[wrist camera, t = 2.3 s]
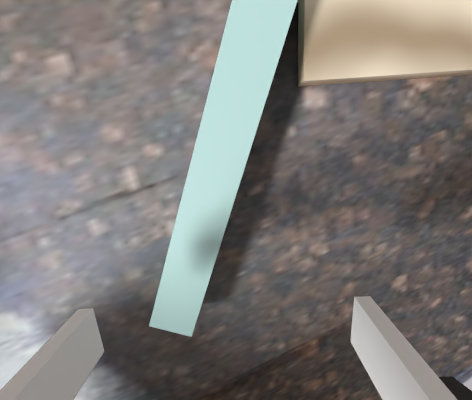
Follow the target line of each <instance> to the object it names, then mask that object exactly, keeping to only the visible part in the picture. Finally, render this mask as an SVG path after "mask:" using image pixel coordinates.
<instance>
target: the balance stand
mask: <svg viewBox="0 0 472 400" xmlns="http://www.w3.org/2000/svg"><path fill="white" fill-rule="evenodd" d="M461 75H472V0H298V86H312V85H326V84H341V83H356V82H371V81H386V80H401V79H416V78H431V77H446V76H461Z"/></svg>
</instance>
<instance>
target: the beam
mask: <svg viewBox="0 0 472 400" xmlns="http://www.w3.org/2000/svg"><path fill="white" fill-rule="evenodd" d="M297 1H298V0H232V3H231V7H230V11H229V15H228V19H227V23H226V27H225V30H224V34H223V38H222V42H221V46H220V50H219V54H218V58H217V62H216V66H215V70H214V73H213V77H212V81H211V85H210V89H209V93H208V97H207V101H206V105H205V109H204V113H203V117H202V120H201V124H200V128H199V132H198V136H197V140H196V144H195V148H194V152H193V156H192V160H191V163H190V167H189V171H188V175H187V179H186V183H185V187H184V191H183V195H182V199H181V203H180V206H179V210H178V214H177V218H176V222H175V226H174V230H173V234H172V238H171V242H170V246H169V250H168V253H167V257H166V261H165V265H164V269H163V273H162V277H161V281H160V285H159V289H158V293H157V296H156V300H155V304H154V308H153V312H152V316H151V320H150V324H149V326H150V327H154V328H158V329H162V330H166V331H170V332H174V333H178V334H182V335H186V336H190V337H192V334H193V331H194V327H195V324H196V321H197V318H198V315H199V311H200V308H201V305H202V302H203V299H204V296H205V292H206V289H207V286H208V283H209V280H210V277H211V273H212V270H213V267H214V264H215V261H216V258H217V254H218V251H219V248H220V245H221V242H222V239H223V235H224V232H225V229H226V226H227V223H228V220H229V216H230V213H231V210H232V207H233V204H234V200H235V197H236V194H237V191H238V188H239V185H240V181H241V178H242V175H243V172H244V169H245V166H246V162H247V159H248V156H249V153H250V150H251V147H252V143H253V140H254V137H255V134H256V131H257V128H258V124H259V121H260V118H261V115H262V112H263V109H264V105H265V102H266V99H267V96H268V93H269V89H270V86H271V83H272V80H273V77H274V74H275V70H276V67H277V64H278V61H279V58H280V55H281V51H282V48H283V45H284V42H285V39H286V36H287V32H288V29H289V26H290V23H291V20H292V17H293V13H294V10H295V7H296V4H297Z"/></svg>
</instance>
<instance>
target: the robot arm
mask: <svg viewBox="0 0 472 400" xmlns="http://www.w3.org/2000/svg"><path fill="white" fill-rule="evenodd" d="M351 344H352V346H353V347H354V349H355V351H356V353H357V355H358V356H359V358H360V360H361V362H362V364H363V365H364V367H365V369H366V371H367V373H368V374H369V376H370V378H371V380H372V382H373V384H374V385H375V387H376V389H377V391H378V393H379V394H380V396H381V398H382V400H472V391H471V390H469V389H468V388H467V387H465V386H464V385H463V384H461V383H460V382H459V381H457V380H456V379H455V378H454V377H438V376H437V375H436V374H435V373H434V371H433V370H432V369H431V368H430V367H429V365H428V364H427V363H426V362H425V361H424V360H423V358H422V357H421V356H420V355H419V354H418V352H417V351H416V350H415V349H414V348H413V347H412V345H411V344H410V343H409V342H408V341H407V339H406V338H405V337H404V336H403V335H402V333H401V332H400V331H399V330H398V329H397V328H396V326H395V325H394V324H393V323H392V322H391V320H390V319H389V318H388V317H387V316H386V315H385V313H384V312H383V311H382V310H381V309H380V307H379V306H378V305H377V304H376V303H375V301H374V300H373V299H372V298H371V297H370V296H363V297H354V306H353V318H352V330H351ZM103 353H104V348H103V344H102V340H101V336H100V333H99V329H98V325H97V321H96V318H95V314H94V310H93V308H88V309H78V310H77V311H76V312H75V313H74V314H73V315H72V316H71V317H70V318H69V319H68V320H67V321H66V322H65V323H64V324H63V325H62V327H61V328H60V329H59V330H58V331H57V332H56V333H55V334H54V335H53V336H52V337H51V338H50V339H49V340H48V341H47V342H46V343H45V344H44V345H43V346H42V347H41V348H40V349H39V351H38V352H37V353H36V354H35V355H34V356H33V357H32V358H31V359H30V360H29V361H28V362H27V363H26V364H25V365H24V366H23V367H22V368H21V369H20V370H19V371H18V372H17V374H16V375H15V376H14V377H13V378H12V379H11V380H10V381H9V382H8V383H7V384H6V385H5V386H4V387H3V388H2V389H1V390H0V400H74V398H75V397H76V395H77V393H78V392H79V390H80V389H81V387H82V386H83V384H84V382H85V381H86V379H87V378H88V376H89V375H90V373H91V372H92V370H93V368H94V367H95V365H96V364H97V362H98V361H99V359H100V357H101V356H102V354H103Z"/></svg>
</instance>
